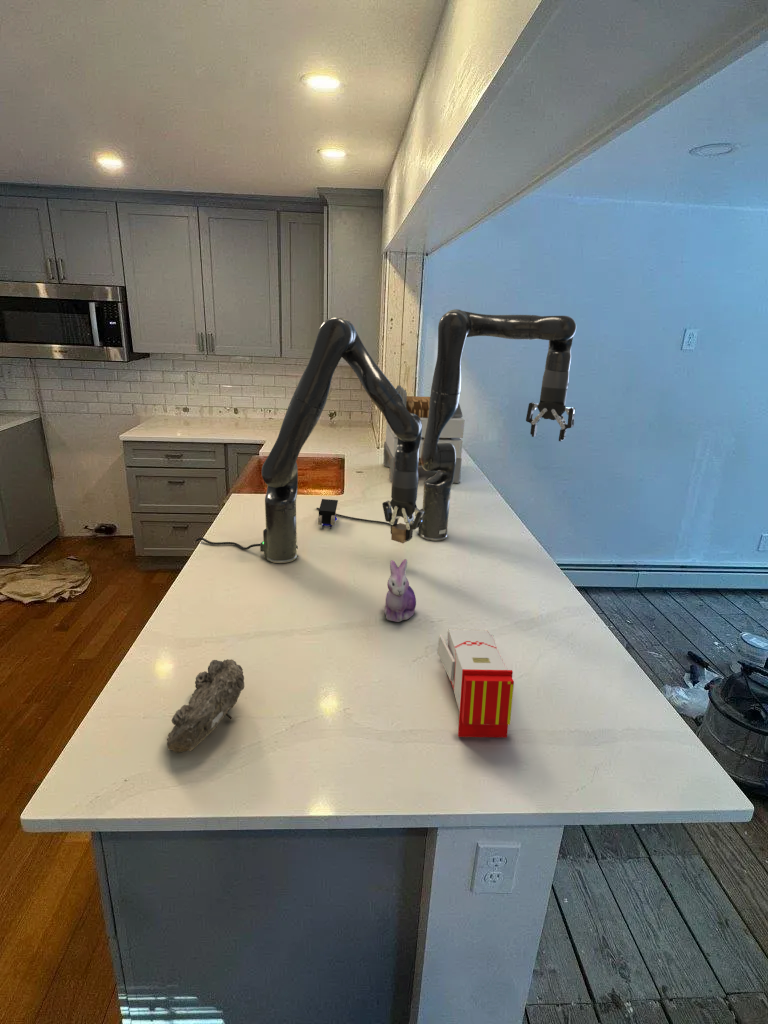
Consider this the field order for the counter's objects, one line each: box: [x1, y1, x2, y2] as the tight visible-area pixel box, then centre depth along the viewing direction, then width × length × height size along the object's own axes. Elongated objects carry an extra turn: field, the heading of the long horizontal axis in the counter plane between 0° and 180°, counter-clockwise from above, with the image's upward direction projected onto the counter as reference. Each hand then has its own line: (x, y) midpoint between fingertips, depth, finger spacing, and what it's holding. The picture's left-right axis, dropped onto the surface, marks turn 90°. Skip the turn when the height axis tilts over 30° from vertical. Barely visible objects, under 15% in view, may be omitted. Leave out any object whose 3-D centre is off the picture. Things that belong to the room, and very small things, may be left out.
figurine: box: [384, 558, 417, 623], centre depth 145 cm, size 9×10×15 cm
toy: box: [437, 628, 515, 738], centre depth 117 cm, size 12×13×30 cm
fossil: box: [166, 658, 245, 754], centre depth 106 cm, size 22×10×15 cm
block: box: [390, 522, 408, 544], centre depth 169 cm, size 4×4×4 cm
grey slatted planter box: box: [383, 384, 465, 484], centre depth 268 cm, size 34×33×41 cm
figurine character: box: [317, 498, 339, 530], centre depth 204 cm, size 7×8×15 cm
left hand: (401, 537), depth 170 cm, fingers closed on block, 4 cm apart
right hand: (547, 438), depth 176 cm, fingers open, 8 cm apart
